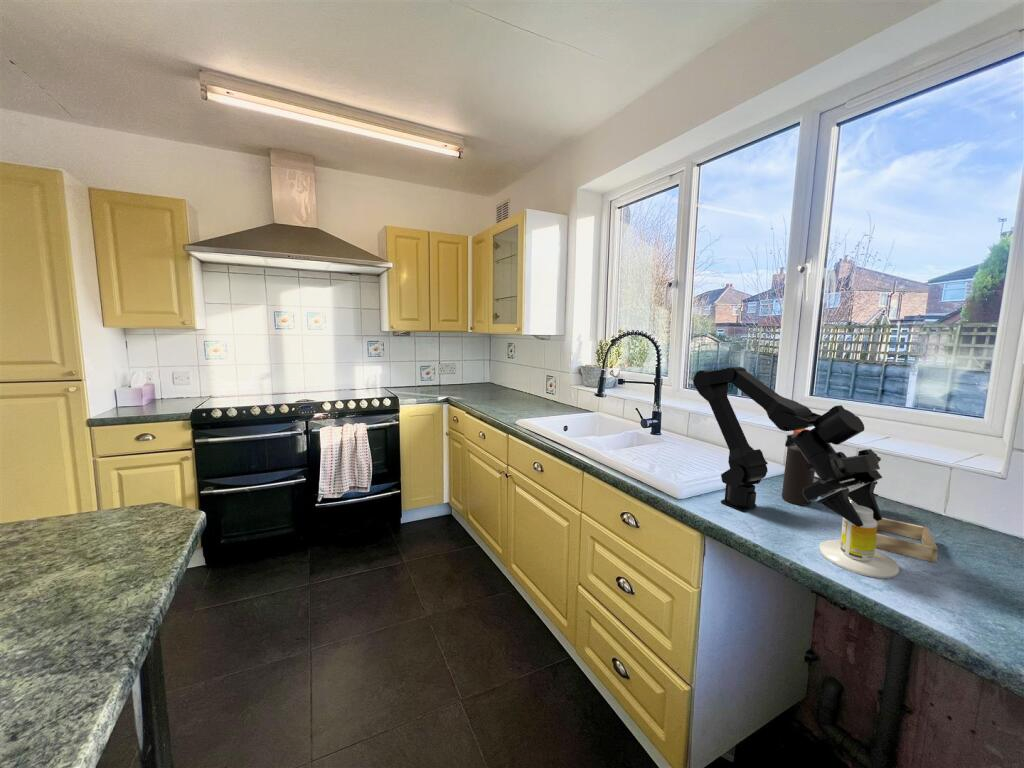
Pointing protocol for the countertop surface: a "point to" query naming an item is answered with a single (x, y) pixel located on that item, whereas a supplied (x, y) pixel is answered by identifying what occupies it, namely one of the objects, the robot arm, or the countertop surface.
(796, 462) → the vinegar
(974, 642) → the countertop surface
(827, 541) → the plate
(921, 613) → the countertop surface
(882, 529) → the bin frame
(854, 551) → the supplement bottle
